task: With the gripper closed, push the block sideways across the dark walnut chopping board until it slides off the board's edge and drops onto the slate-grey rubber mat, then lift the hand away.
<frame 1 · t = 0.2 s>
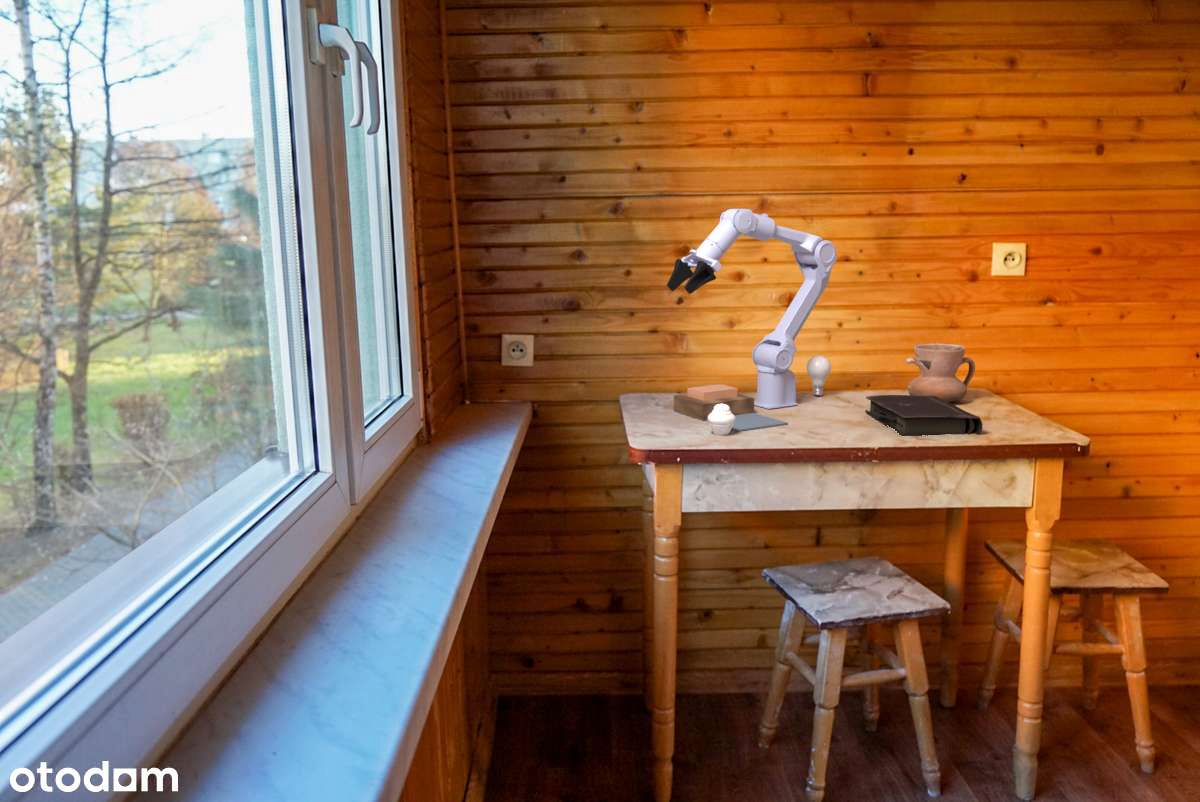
hand: (678, 289, 221), 31 cm above the table, tool tilted 45°, fingers open, 7 cm apart
lightbulb: (817, 396, 250), on the table
mat: (746, 422, 219), on the table
diary: (918, 426, 217), on the table
muffin: (721, 434, 209), on the table
block: (712, 396, 231), point 4 cm above the table, touching board
ceramic jug: (938, 401, 242), on the table
board: (713, 412, 231), on the table
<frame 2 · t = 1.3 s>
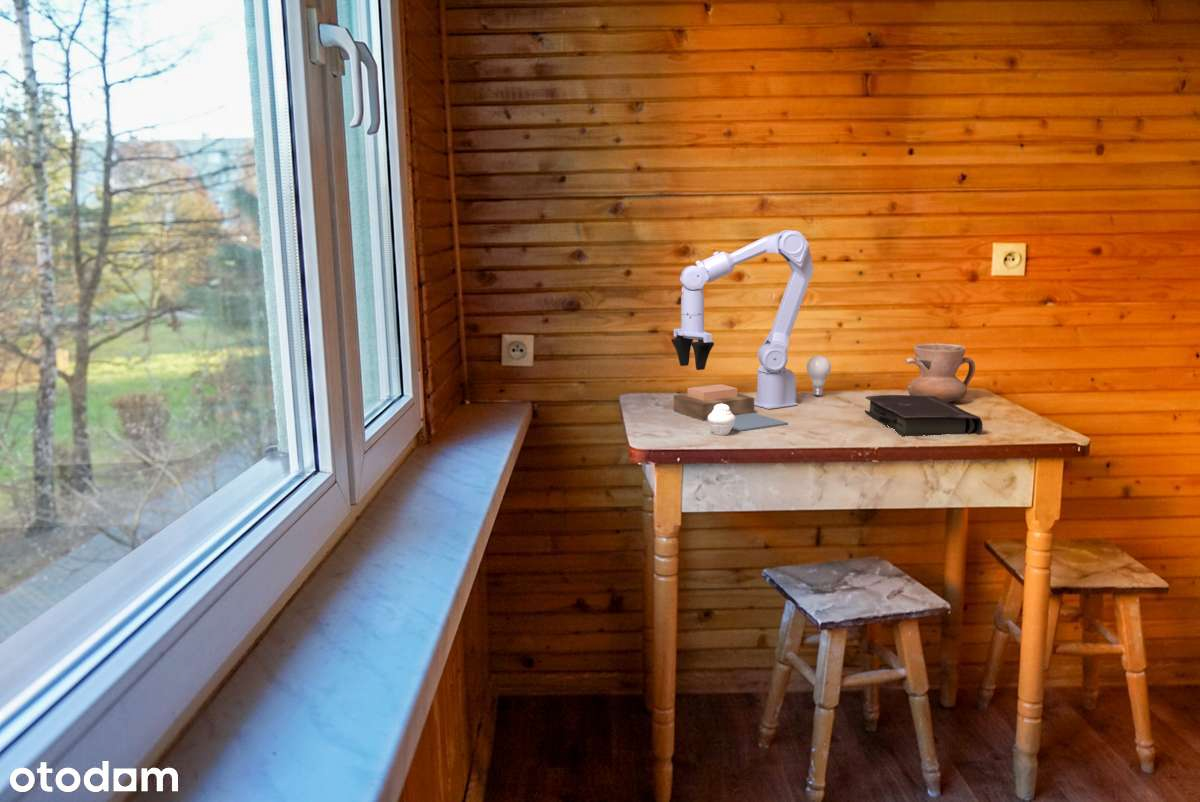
hand: (692, 367, 237), 10 cm above the table, tool pointing down, fingers open, 7 cm apart
nothing on the table moved.
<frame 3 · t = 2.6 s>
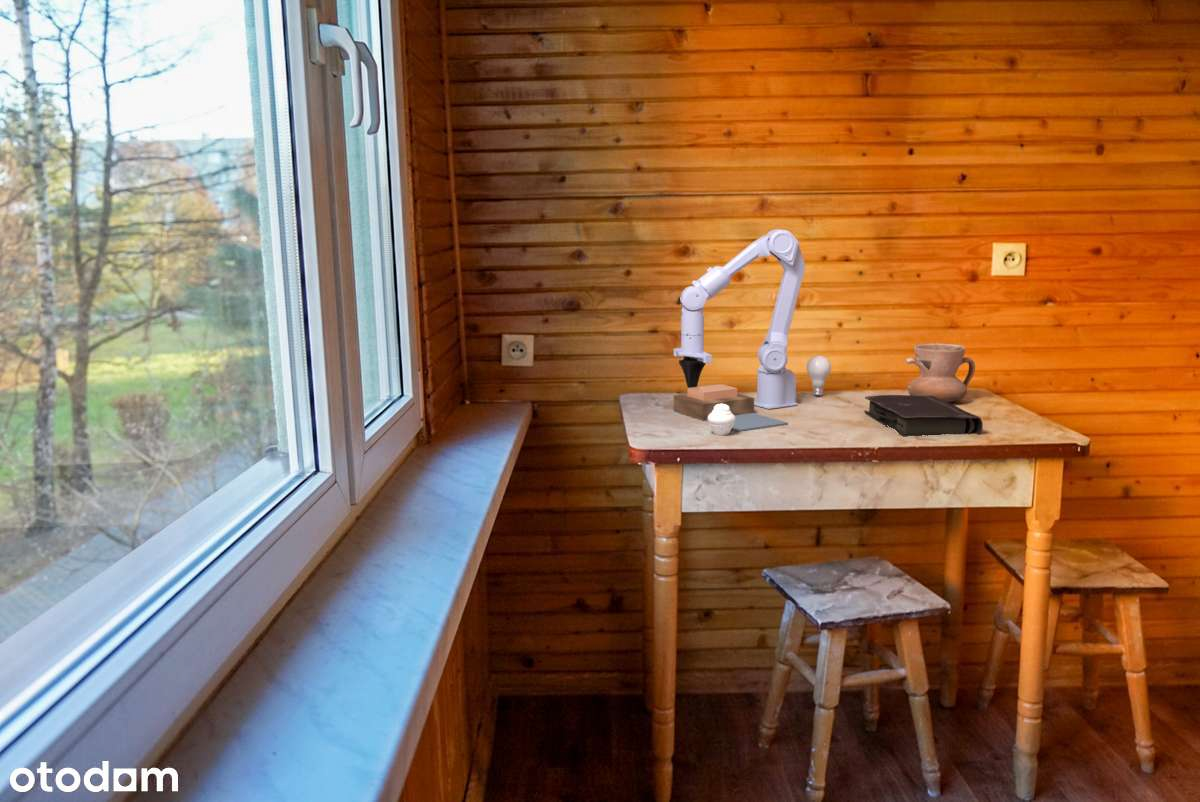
hand: (692, 387, 238), 5 cm above the table, tool pointing down, fingers closed
nothing on the table moved.
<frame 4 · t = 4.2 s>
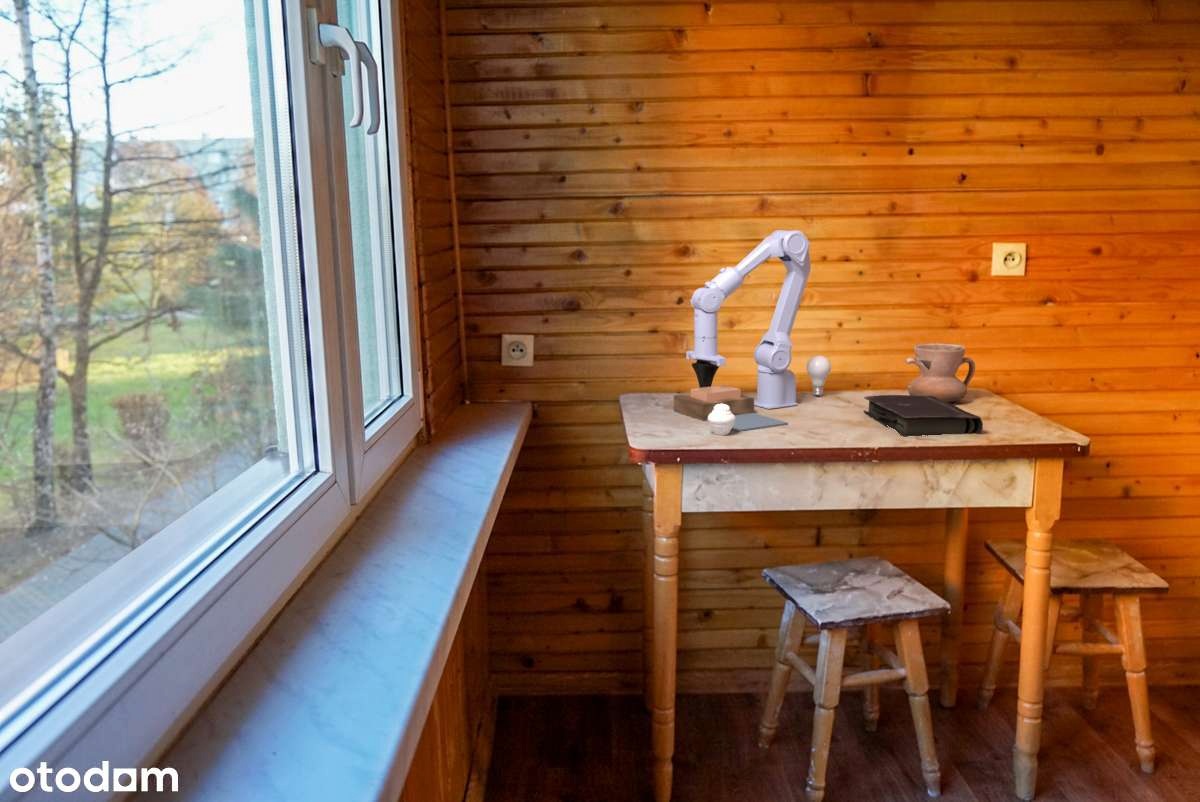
hand: (705, 391, 233), 5 cm above the table, tool pointing down, fingers closed
block: (715, 397, 229), point 4 cm above the table, touching board, gripper
everything else where it was.
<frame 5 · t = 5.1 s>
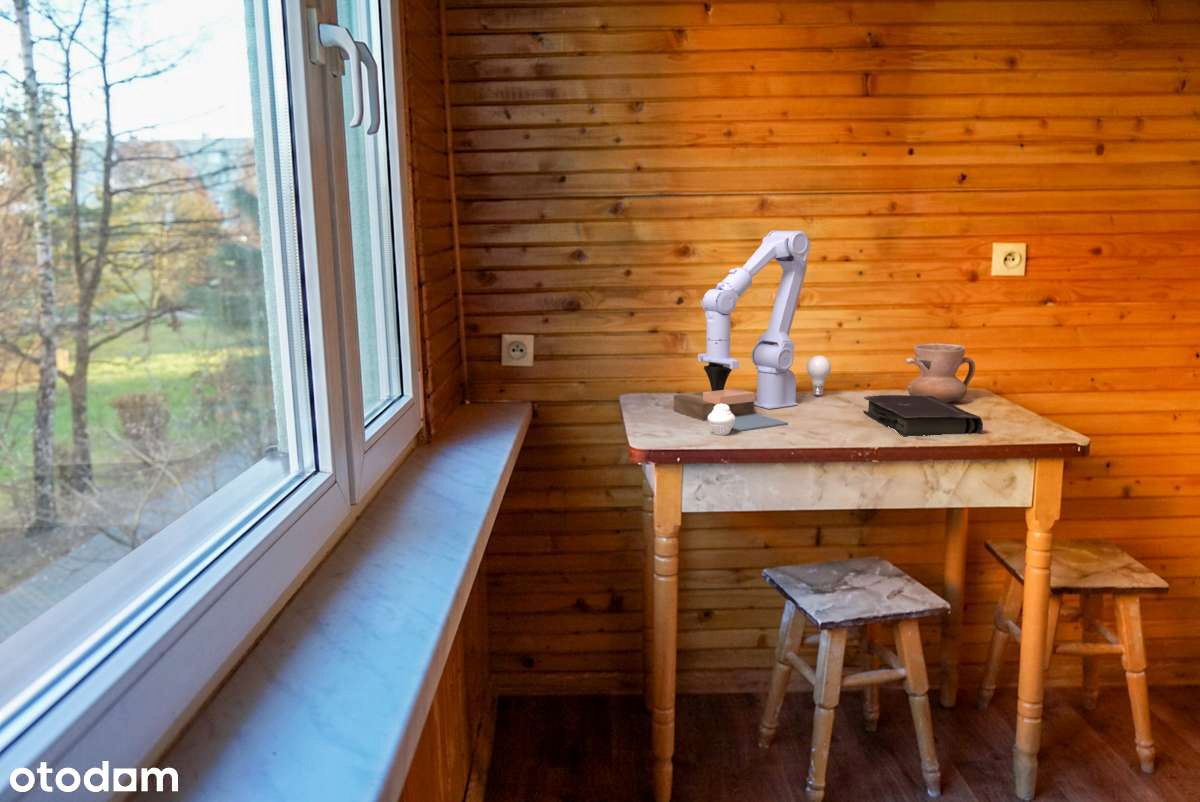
hand: (717, 394, 229), 5 cm above the table, tool pointing down, fingers closed
block: (728, 400, 225), point 4 cm above the table, touching board
everything else where it was.
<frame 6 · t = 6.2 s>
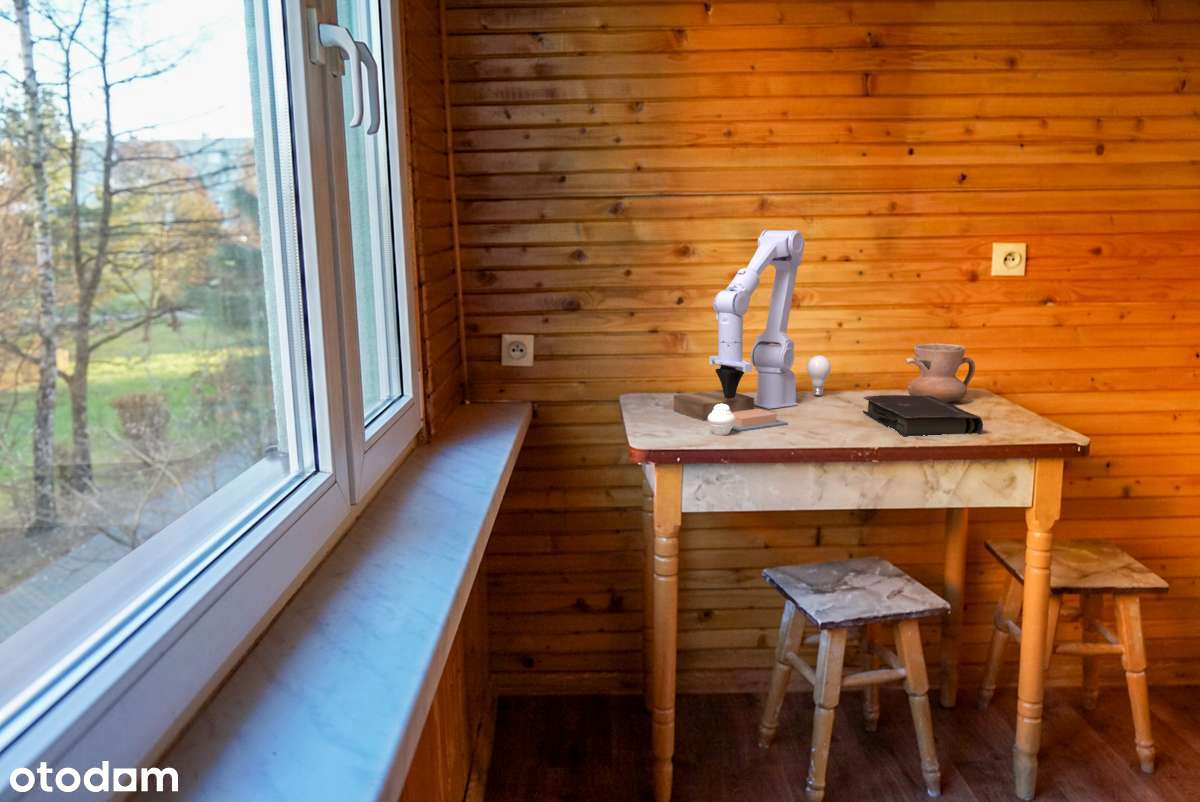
hand: (729, 397, 224), 5 cm above the table, tool pointing down, fingers closed
block: (749, 413, 218), point 2 cm above the table, tilted 180°, touching mat
everything else where it was.
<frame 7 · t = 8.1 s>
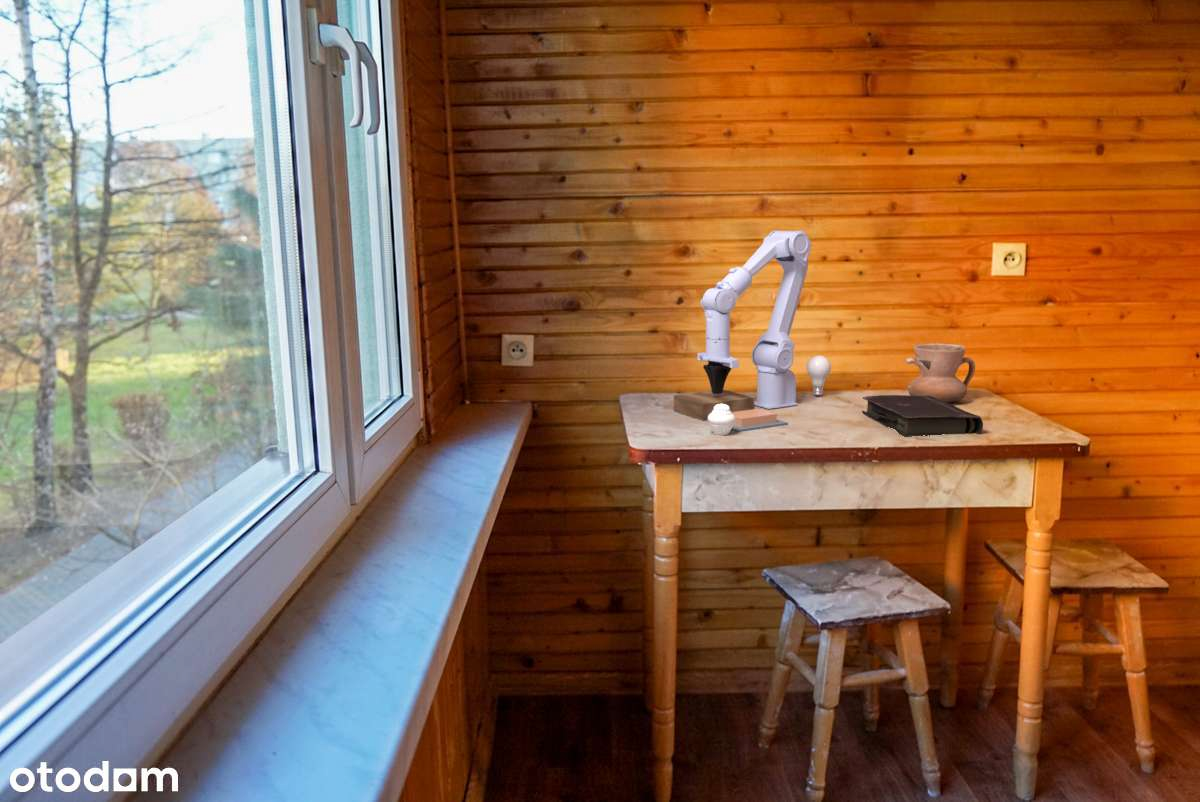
hand: (717, 393, 229), 5 cm above the table, tool pointing down, fingers closed
nothing on the table moved.
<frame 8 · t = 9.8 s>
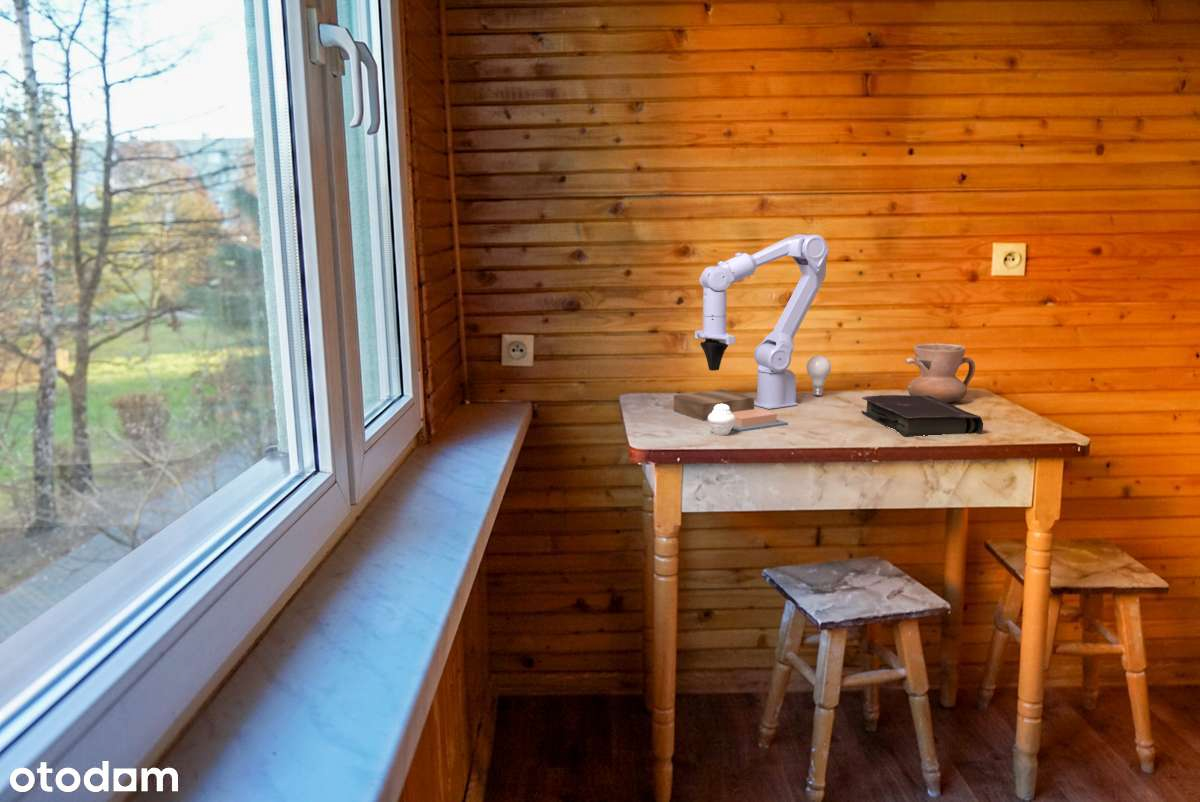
hand: (714, 370, 233), 10 cm above the table, tool pointing down, fingers closed
nothing on the table moved.
at the end: block inside the target area on the mat (0.9 cm from its centre), point 2.4 cm above the mat's base; block point 2.4 cm above the table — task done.
